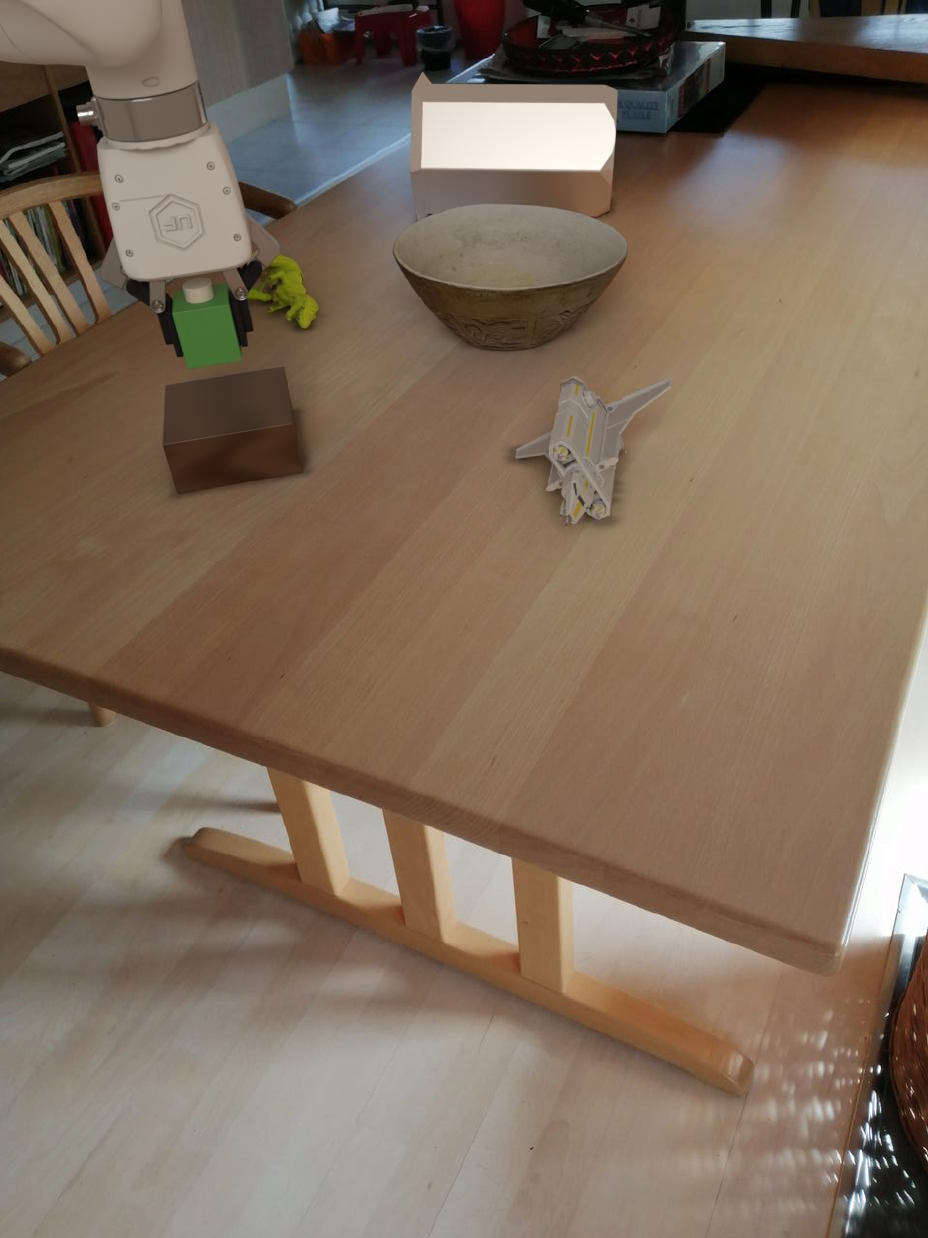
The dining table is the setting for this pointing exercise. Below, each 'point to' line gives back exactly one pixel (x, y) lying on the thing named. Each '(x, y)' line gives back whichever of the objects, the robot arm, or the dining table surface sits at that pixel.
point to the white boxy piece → (512, 146)
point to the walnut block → (230, 430)
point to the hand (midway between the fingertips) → (212, 342)
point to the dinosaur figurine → (286, 291)
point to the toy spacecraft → (587, 445)
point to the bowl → (509, 270)
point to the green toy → (205, 324)
